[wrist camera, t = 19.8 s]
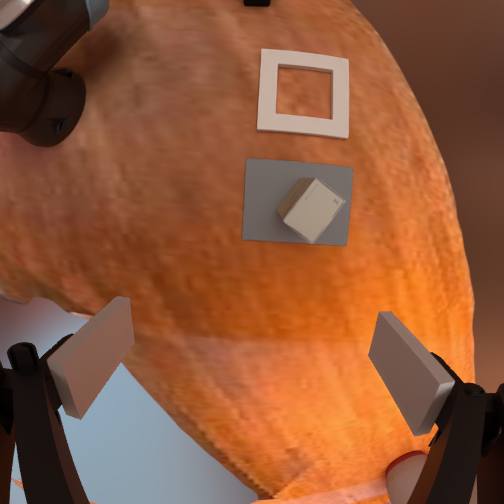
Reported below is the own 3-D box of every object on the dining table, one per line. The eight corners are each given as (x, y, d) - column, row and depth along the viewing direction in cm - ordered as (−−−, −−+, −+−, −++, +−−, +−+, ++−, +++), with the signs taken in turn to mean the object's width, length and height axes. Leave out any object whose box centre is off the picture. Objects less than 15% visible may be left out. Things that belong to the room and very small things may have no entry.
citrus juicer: (374, 485, 60) (390, 535, 41) (384, 456, 57) (406, 512, 37) (420, 470, 60) (440, 515, 40) (434, 438, 56) (462, 487, 36)
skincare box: (300, 176, 42) (316, 174, 30) (323, 195, 43) (347, 200, 31) (274, 210, 43) (280, 220, 31) (298, 229, 44) (312, 245, 32)
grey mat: (242, 238, 45) (242, 239, 44) (246, 158, 42) (246, 158, 42) (345, 245, 45) (346, 246, 44) (352, 168, 42) (353, 167, 41)
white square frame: (257, 130, 41) (257, 129, 40) (261, 52, 38) (261, 48, 37) (345, 139, 41) (348, 138, 40) (345, 62, 38) (348, 59, 37)
